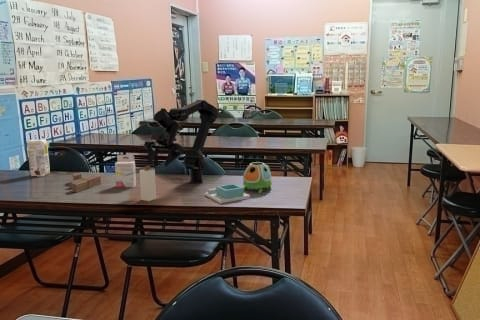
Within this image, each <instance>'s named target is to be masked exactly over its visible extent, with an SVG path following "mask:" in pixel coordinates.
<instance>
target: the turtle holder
mask: <svg viewBox="0 0 480 320" xmlns="http://www.w3.org/2000/svg"><path fill="white" fill-rule="evenodd" d="M272 178H273V177H272V172H271V169H270V166H269V165H268V164H265V163H264V162H260V161H256V162H254V161H253V162H251V163H249V165H248V166H247V167H246V169H245V170H244V173H243V176H242V179H243V182H242V184H243V188H244V191H248V189H251V190H258V191H257V194H261V193H263V192H264V191H263V189H267V188H268V190H269V191H271V190H272V188H273V187H272V183H273V182H272Z"/></svg>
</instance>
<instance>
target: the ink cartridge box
mask: <svg viewBox="0 0 480 320" xmlns="http://www.w3.org/2000/svg"><path fill="white" fill-rule="evenodd" d="M116 158H117V159H116V160H117V161H116V162H115V163H114V171H115V173H114V174H115V187H116V188H117V189H118V188H119V189H121V188H135V187H137V177H136V176H137V174H136V173H137V172H136V161H135V154H117V155H116Z"/></svg>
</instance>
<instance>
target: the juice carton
mask: <svg viewBox="0 0 480 320" xmlns="http://www.w3.org/2000/svg"><path fill="white" fill-rule="evenodd" d="M26 148H27V154H28V162H29V163H28V165H29V172H30V176H31V177H32V176H37V177H46V176H48V175H50V174H51V173H50V171H51V170H50V169H51V167H50V158H49V149H48V148H49V147H48V142H47V139H46V138H44V139H43V138H42V139H37V138H36V139H30V140H27V147H26ZM45 175H46V176H45Z"/></svg>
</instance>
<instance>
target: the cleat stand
mask: <svg viewBox="0 0 480 320" xmlns="http://www.w3.org/2000/svg"><path fill="white" fill-rule="evenodd" d="M207 191H208V192H205V193H204V195H205V197H208V198H209V199H211V200H213V201H215V202H218V203H219V204H223V203H230V202H236V201H241V200H246V199H247V200H248V199H250V198H251V195H250V194H248V193H246V192H245V190H244V186H241V185H237V184H235V183H230V184H228V183H227V184H224V185H217V186H216V187H215V188H208V189H207Z"/></svg>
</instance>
